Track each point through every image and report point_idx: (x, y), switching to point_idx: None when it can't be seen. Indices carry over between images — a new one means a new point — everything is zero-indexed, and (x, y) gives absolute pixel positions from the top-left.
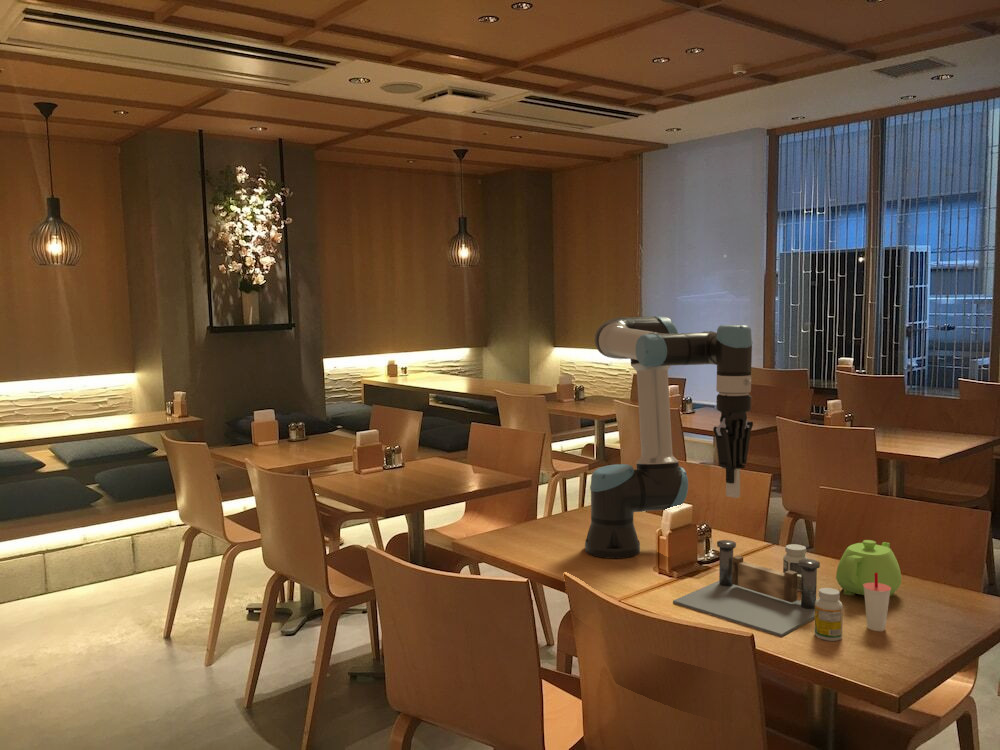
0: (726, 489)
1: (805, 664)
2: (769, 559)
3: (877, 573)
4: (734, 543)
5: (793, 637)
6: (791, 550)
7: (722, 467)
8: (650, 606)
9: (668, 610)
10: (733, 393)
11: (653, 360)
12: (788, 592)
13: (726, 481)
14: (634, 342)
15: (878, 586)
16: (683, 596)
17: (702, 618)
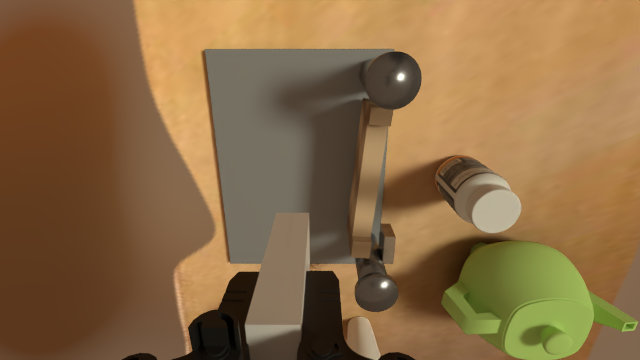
0: (270, 233)
1: (181, 315)
2: (618, 40)
3: None
4: (401, 102)
5: (244, 271)
6: (470, 211)
7: (205, 319)
8: (154, 24)
9: (169, 68)
10: None
11: None
12: (348, 229)
13: (233, 280)
14: None
15: None
16: (240, 51)
17: (192, 139)
